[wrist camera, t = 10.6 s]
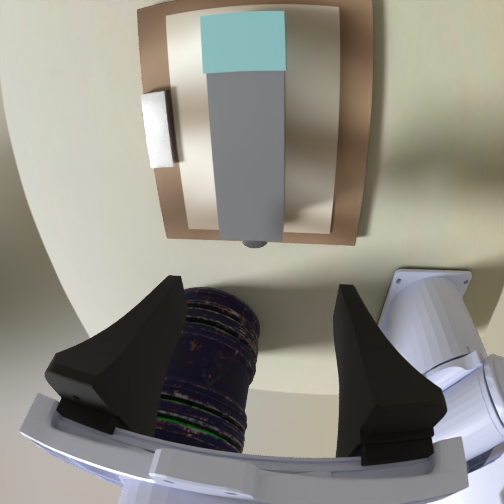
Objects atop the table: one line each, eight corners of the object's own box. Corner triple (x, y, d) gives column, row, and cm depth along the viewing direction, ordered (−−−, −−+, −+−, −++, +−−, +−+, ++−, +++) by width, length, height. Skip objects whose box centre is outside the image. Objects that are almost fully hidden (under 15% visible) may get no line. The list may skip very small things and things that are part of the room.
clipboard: (353, 238, 22) (356, 252, 21) (171, 231, 24) (163, 244, 22) (368, 0, 12) (375, -5, 11) (144, 11, 14) (131, 8, 13)
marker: (285, 227, 21) (283, 261, 18) (230, 225, 22) (219, 258, 18) (286, 21, 13) (284, 10, 10) (218, 24, 14) (200, 16, 11)
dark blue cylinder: (162, 338, 32) (117, 459, 20) (164, 274, 27) (93, 425, 15) (249, 362, 33) (227, 490, 21) (273, 303, 27) (252, 471, 15)
